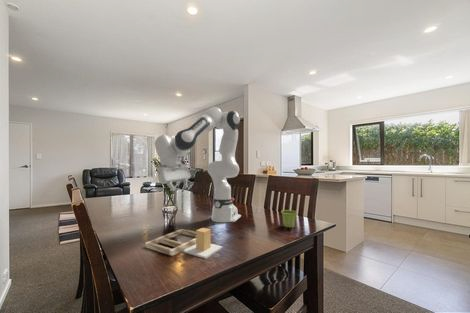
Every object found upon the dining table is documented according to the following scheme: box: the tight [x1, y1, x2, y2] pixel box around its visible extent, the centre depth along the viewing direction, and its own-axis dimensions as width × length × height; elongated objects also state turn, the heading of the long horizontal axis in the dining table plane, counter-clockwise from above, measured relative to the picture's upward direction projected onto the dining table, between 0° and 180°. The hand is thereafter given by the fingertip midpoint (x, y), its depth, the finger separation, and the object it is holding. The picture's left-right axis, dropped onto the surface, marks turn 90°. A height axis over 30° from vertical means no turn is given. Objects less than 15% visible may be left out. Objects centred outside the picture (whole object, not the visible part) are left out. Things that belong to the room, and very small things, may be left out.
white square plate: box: [182, 243, 223, 260], centre depth 93 cm, size 12×12×1 cm
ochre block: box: [195, 227, 212, 251], centre depth 93 cm, size 4×4×8 cm
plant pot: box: [280, 209, 298, 229], centre depth 127 cm, size 9×9×9 cm
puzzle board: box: [144, 228, 196, 256], centre depth 101 cm, size 23×17×2 cm
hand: (180, 189), depth 108 cm, fingers open, 8 cm apart
